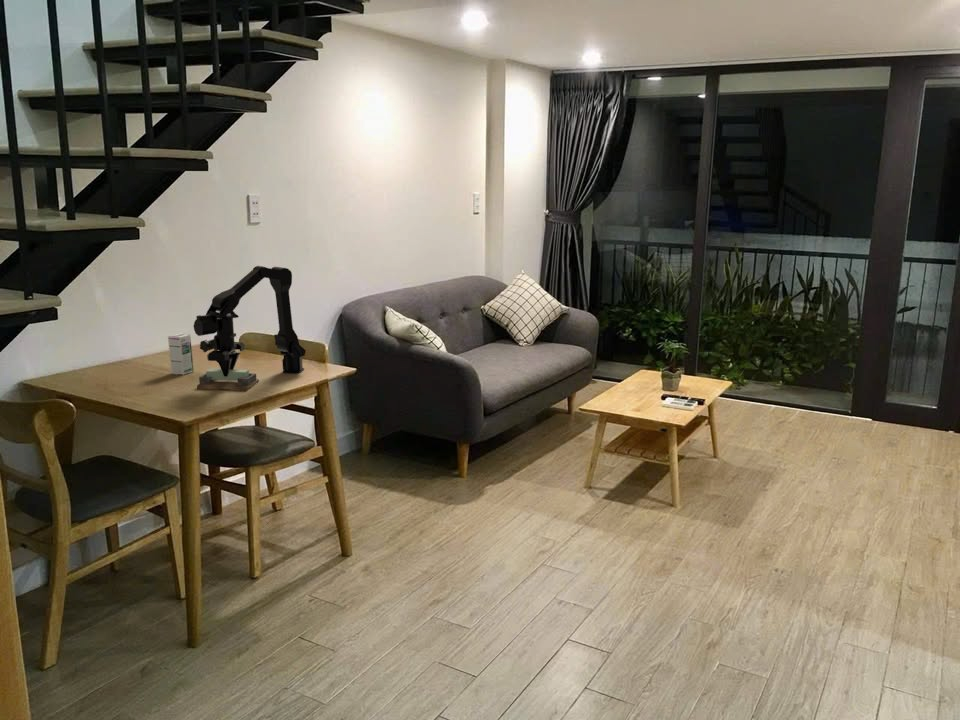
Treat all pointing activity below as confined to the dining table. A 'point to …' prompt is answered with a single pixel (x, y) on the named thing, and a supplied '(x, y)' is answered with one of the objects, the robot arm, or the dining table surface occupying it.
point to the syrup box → (180, 353)
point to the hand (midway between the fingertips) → (227, 375)
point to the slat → (232, 375)
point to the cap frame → (227, 383)
